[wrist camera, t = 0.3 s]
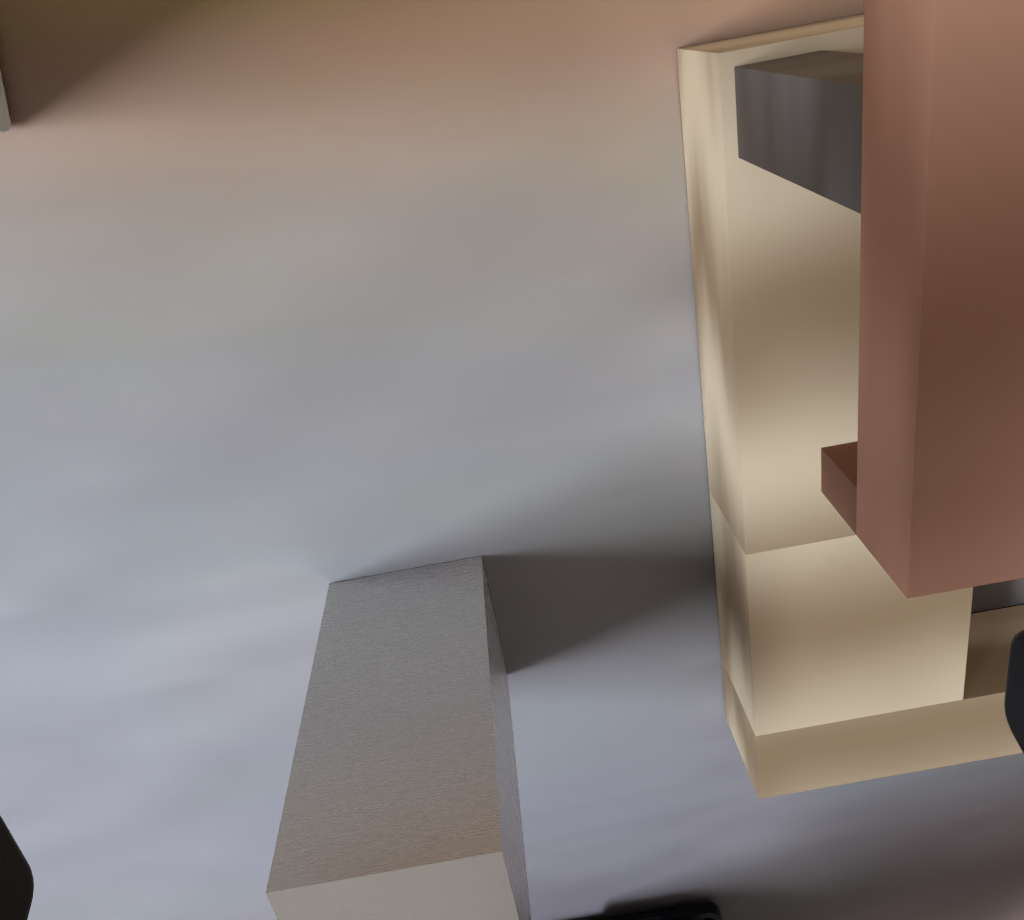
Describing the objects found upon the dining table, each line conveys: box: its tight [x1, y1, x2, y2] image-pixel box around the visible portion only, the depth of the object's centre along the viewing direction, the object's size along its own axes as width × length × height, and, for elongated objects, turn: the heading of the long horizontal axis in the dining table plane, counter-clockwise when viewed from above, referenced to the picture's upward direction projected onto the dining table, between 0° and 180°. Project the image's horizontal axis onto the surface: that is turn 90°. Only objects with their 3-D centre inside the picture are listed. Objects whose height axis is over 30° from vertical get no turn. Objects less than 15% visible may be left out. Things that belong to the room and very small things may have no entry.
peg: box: [266, 556, 531, 920], centre depth 19 cm, size 4×4×9 cm
